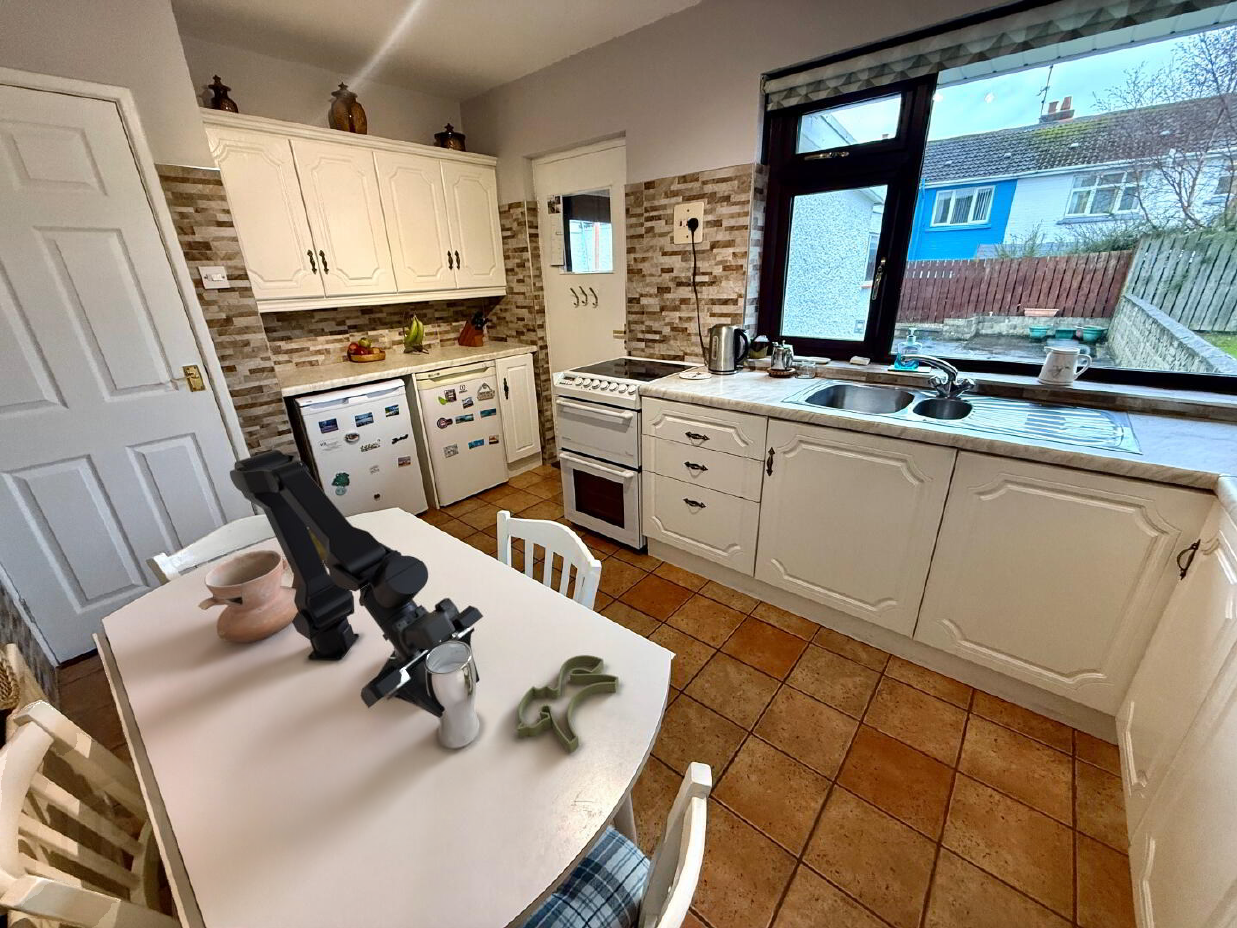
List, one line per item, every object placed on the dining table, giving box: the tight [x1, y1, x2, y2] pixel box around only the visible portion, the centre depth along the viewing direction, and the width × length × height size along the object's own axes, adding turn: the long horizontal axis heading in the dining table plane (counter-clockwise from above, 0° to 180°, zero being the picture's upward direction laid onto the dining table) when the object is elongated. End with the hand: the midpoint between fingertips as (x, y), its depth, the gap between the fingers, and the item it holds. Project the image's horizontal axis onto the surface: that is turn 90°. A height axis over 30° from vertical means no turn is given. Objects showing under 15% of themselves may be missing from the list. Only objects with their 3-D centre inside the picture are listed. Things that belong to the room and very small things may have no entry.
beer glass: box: [424, 641, 480, 749], centre depth 73 cm, size 7×7×15 cm
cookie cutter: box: [517, 654, 620, 754], centre depth 80 cm, size 18×12×2 cm, turn 149°
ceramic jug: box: [197, 549, 298, 644], centre depth 97 cm, size 18×14×14 cm
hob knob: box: [393, 646, 422, 665], centre depth 85 cm, size 4×4×4 cm
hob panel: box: [376, 641, 448, 694], centre depth 86 cm, size 12×10×3 cm
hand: (459, 698), depth 72 cm, fingers closed on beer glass, 7 cm apart
